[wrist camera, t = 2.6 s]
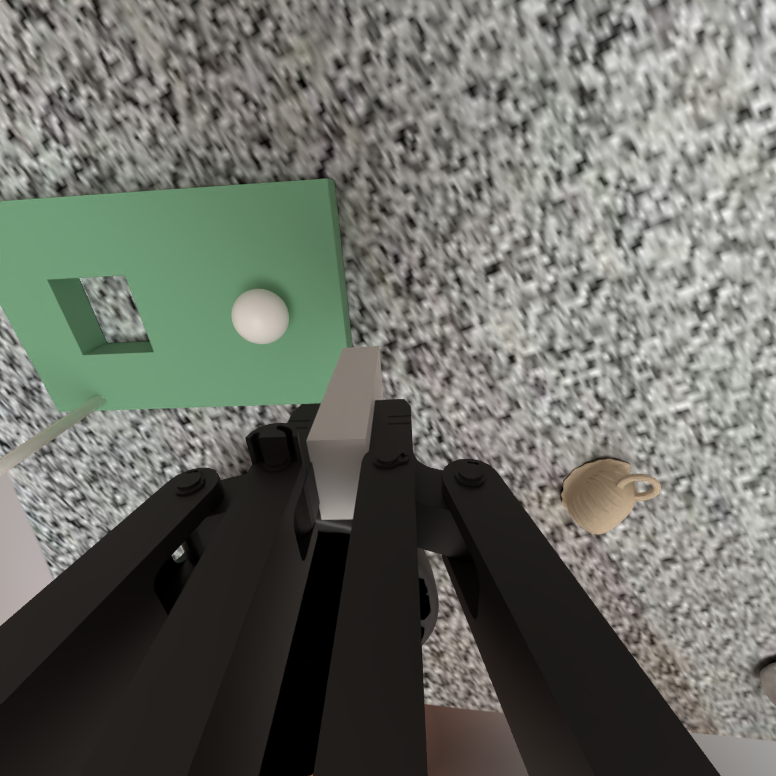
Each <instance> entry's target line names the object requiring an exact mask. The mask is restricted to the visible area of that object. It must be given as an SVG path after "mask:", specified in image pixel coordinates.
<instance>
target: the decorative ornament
mask: <svg viewBox="0 0 776 776" xmlns="http://www.w3.org/2000/svg"><path fill="white" fill-rule="evenodd" d="M630 466H631V464H629V463H626V462H622V461H618V460H613V459H605V460H597V461H595V462H591V463H586V464H584V465H583V466H581V467H578V468H576V469H574V470H573V471H572V472H571V474H570V475H569V476H568V477H567V478H566V479H565V480H564V483H563V489H564V490H563V492H562V493H561V496H562V498H563V500H562V505H563V506H564V507H565V509H566V510H567V511H568V512H569V513H570V515H571V516H572V518H573V519H574V521H575V522H576V523H577V524H578V525H580V526H581V527H583V528H584V529H585V530H587V531H588V532H590V533H593V534H603V533H605V532H608V531H609V530H611V529H612V528H614V527H615V526H617V525H618V524H619V523H620V522H621V521H622V520H623V519H624V518H625V517H626V516H627V515H628V514H629V513H630V511H631V510H632V508H633V507H634V504H635V502H636V500H638V501H642V500H648V499H651V498H653V497H655V496H657V495H658V494H659V492H660V490H661V485H660V483H659V482H658V481H657V480H656V479H655V478H653V477H651V476H648V475H644V474H630V475H629V471H630ZM634 481H646V482H649V483H651V484H652V485H653V488H652V489H651V490H649V491H647V492H642V493H637V489H636V485H635V483H634Z"/></svg>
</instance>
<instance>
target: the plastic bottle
mask: <svg viewBox="0 0 776 776" xmlns="http://www.w3.org/2000/svg"><path fill="white" fill-rule="evenodd" d="M759 676H760V683H761V685H762V687H763V689H764V691H765V693H766V694H767V696H768V698H769V699H770V700H771V701H772V702H773V704H774V705H775V706H776V662H774V663H771V664H769V665H767V666H766V667H764V668H763V669H762V670H761V672H760V675H759Z"/></svg>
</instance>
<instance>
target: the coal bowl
mask: <svg viewBox="0 0 776 776" xmlns="http://www.w3.org/2000/svg"><path fill="white" fill-rule="evenodd" d="M352 521H353V519H338V520H322V519H321V514H320V509H319V508H318V512H317V516H316V523H317V528H318V536H317V540H316V544H315V548H314V552H313V556H312V560H311V564H310V568H309V573H308V577H307V581H306V585H305V589H304V593H303V597H302V601H301V605H300V609H299V613H298V617H297V622H296V626H295V630H294V634H293V638H292V642H291V646H290V650H289V654H288V658H287V662H286V666H285V671H284V675H283V679H282V683H281V687H280V691H279V695H278V699H277V703H276V707H275V711H274V715H273V720H272V724H271V728H270V732H269V736H268V740H267V744H266V748H265V752H264V756H263V760H262V764H261V769H260V773H259V776H310V775H312V774H314V767H315V761H316V754H317V748H318V741H319V735H320V728H321V722H322V715H323V709H324V702H325V696H326V689H327V683H328V676H329V670H330V664H331V657H332V651H333V644H334V638H335V631H336V625H337V618H338V612H339V605H340V599H341V592H342V586H343V579H344V573H345V566H346V560H347V553H348V547H349V540H350V534H351V527H352ZM417 550H418V573H419V595H420V618H421V640H422V645H423V644H424V643H425V642H426V640H427V639H428V638H429V636H430V635H431V633H432V631H433V629H434V627H435V624H436V621H437V616H438V609H439V602H438V593H437V589H436V584H435V579H434V575H433V572H432V569H431V566H430V563H429V560H428V558H427V555H426V553H425V551H424V549H421V548H418V547H417Z"/></svg>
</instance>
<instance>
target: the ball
mask: <svg viewBox="0 0 776 776" xmlns="http://www.w3.org/2000/svg"><path fill="white" fill-rule="evenodd" d="M231 317H232V322H233V325H234V327H235V329H236V331H237V332H238V333H239V335H240V336H242V337H243V338H244V339H246V340H247V341H249V342H252V343H255V344H269V343H272V342H274V341H276V340H278V339H279V338H280V337H282V335H283V334H284V333H285V331H286V330H287V327H288V324H289V313H288V309H287V306H286V305H285V303H284V301H283V300H282V299H281V298H280V297H279V296H278V295H276V294H275V293H273V292H271V291H269V290H265V289H252V290H248V291H246V292H244V293H243V294H241V295H240V296H239V297H238V298H237V299H236V301H235V303H234V304H233V307H232V312H231Z"/></svg>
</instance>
